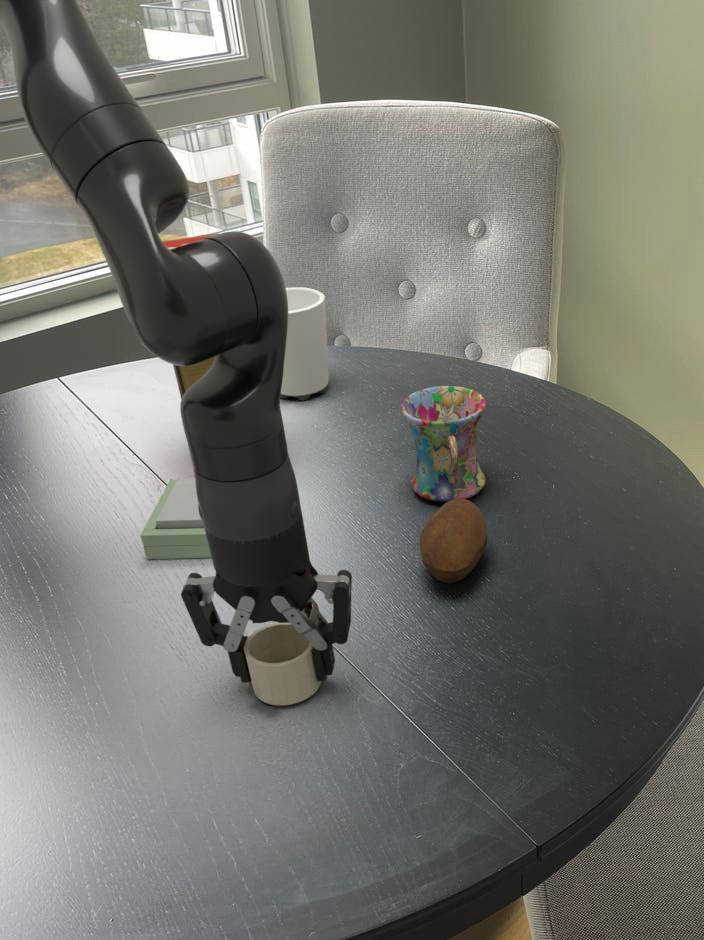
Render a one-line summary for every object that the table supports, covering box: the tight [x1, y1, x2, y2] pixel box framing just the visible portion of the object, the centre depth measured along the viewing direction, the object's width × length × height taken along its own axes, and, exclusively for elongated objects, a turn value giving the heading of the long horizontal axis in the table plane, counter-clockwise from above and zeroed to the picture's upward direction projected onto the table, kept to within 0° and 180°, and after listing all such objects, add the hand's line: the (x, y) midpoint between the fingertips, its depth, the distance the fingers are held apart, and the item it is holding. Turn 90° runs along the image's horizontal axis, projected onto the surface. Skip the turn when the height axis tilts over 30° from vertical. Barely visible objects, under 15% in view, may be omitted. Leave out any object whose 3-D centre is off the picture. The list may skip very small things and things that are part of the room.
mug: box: [400, 385, 487, 503], centre depth 108 cm, size 12×9×11 cm
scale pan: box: [156, 477, 204, 529], centre depth 106 cm, size 9×9×1 cm
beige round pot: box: [243, 622, 322, 706], centre depth 84 cm, size 6×6×4 cm
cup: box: [280, 286, 330, 401], centre depth 132 cm, size 10×10×13 cm
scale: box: [140, 479, 212, 560], centre depth 107 cm, size 12×12×3 cm
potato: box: [419, 498, 488, 584], centre depth 97 cm, size 7×12×7 cm, turn 175°
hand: (285, 675), depth 85 cm, fingers closed on beige round pot, 6 cm apart
